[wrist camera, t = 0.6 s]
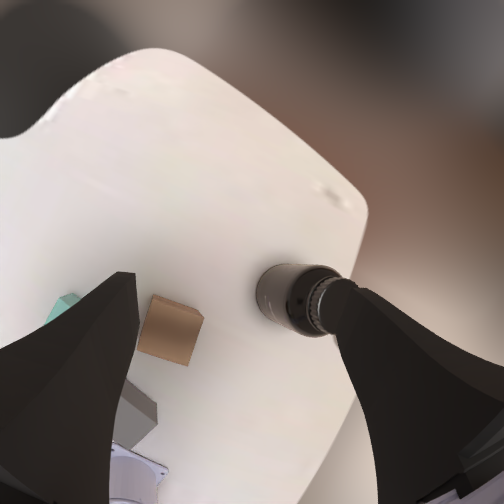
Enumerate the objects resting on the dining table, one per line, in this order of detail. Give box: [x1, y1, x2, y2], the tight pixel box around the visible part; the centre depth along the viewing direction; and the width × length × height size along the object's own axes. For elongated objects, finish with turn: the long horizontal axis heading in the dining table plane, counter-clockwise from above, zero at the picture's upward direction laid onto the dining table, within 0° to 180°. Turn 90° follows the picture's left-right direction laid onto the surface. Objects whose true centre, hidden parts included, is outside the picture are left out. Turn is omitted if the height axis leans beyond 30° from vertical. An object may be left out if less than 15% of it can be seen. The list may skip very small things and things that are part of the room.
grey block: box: [112, 379, 158, 451], centre depth 26 cm, size 5×5×5 cm
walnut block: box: [137, 295, 204, 366], centre depth 28 cm, size 5×5×5 cm
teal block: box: [44, 293, 81, 325], centre depth 25 cm, size 5×5×5 cm
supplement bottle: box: [257, 264, 359, 338], centre depth 29 cm, size 7×7×12 cm
